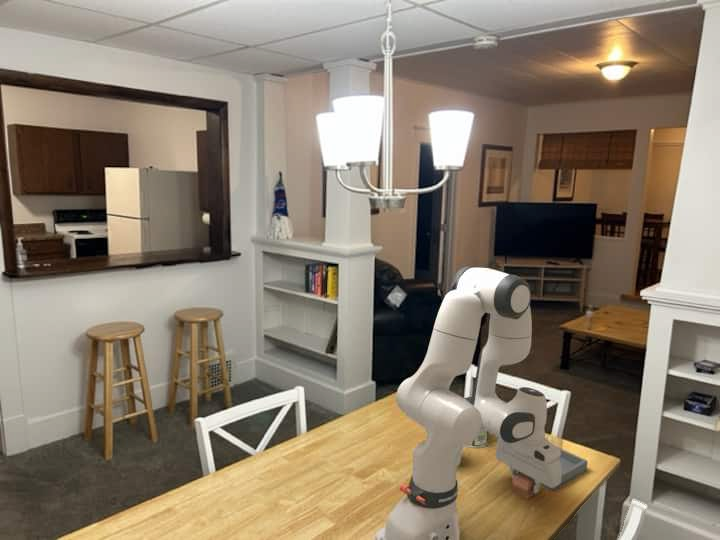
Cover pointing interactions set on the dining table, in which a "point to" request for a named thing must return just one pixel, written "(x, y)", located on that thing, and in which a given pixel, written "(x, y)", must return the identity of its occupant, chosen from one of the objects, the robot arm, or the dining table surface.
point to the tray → (569, 467)
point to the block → (523, 484)
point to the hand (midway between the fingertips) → (525, 486)
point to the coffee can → (479, 437)
